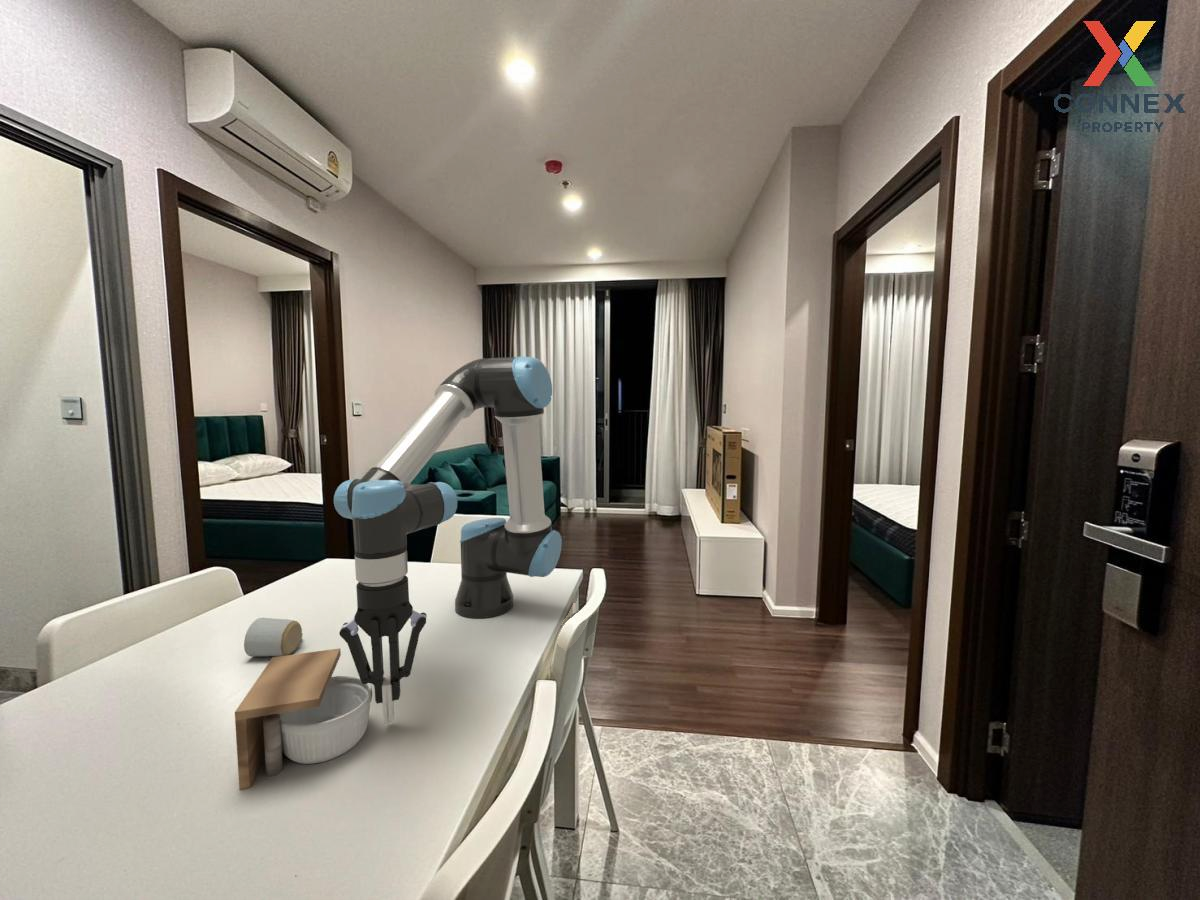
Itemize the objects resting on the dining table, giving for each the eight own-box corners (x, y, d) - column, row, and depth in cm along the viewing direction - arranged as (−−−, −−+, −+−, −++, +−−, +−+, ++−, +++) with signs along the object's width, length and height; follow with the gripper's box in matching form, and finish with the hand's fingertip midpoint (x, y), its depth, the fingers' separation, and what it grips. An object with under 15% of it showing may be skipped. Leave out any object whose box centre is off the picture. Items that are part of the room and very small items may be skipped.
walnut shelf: (342, 710, 82) (340, 648, 82) (322, 772, 68) (318, 698, 67) (275, 721, 79) (272, 657, 78) (239, 789, 65) (234, 712, 64)
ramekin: (391, 723, 79) (390, 683, 79) (323, 781, 67) (321, 734, 66) (330, 707, 83) (328, 669, 83) (255, 759, 71) (252, 714, 70)
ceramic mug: (284, 662, 98) (283, 626, 97) (243, 663, 97) (241, 627, 97) (312, 638, 108) (311, 606, 108) (275, 639, 108) (274, 606, 107)
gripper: (426, 566, 81) (431, 697, 83) (342, 575, 77) (349, 713, 79) (424, 581, 74) (430, 724, 76) (332, 592, 70) (340, 742, 72)
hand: (389, 718), depth 78 cm, fingers closed
